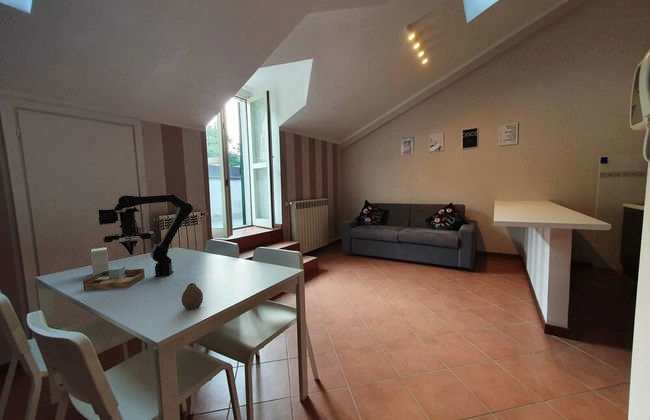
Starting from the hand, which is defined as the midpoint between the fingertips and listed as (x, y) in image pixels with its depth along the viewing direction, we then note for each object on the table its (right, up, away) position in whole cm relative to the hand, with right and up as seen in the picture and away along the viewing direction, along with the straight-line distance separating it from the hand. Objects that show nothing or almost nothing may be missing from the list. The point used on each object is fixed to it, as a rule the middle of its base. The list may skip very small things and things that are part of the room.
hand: (132, 254), depth 124 cm
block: (-7, -10, 0) cm, 13 cm away
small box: (-25, -12, +13) cm, 31 cm away
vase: (+43, -15, -29) cm, 54 cm away
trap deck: (-6, -13, -2) cm, 14 cm away
